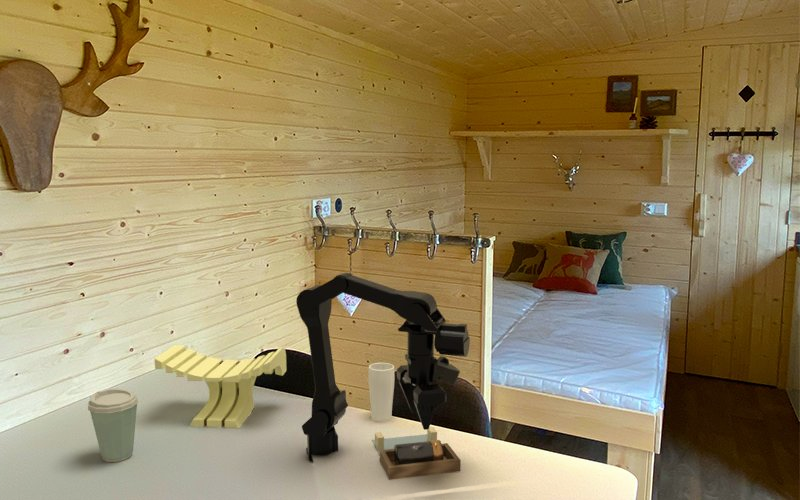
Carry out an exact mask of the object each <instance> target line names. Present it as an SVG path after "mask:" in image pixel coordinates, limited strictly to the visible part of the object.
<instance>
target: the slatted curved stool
mask: <svg viewBox="0 0 800 500" xmlns="http://www.w3.org/2000/svg"><path fill="white" fill-rule="evenodd" d="M163 369H165V373H166V374H174V373H176V377H177V378H184V377H186V379H187V381H188V382H203V381H204V382H205V384H206V386H207V388H208V391H209V394H208V395H209V396H208V400H207V401H206V403H205V405H204V407H202V409H201V410H200V412H198V413H197V415H196V416H194V418H193V419H192V421H191V423H190V425H189V427H194V426H197V428H200V427H201V428H203V426H204V427H205V426H206V428H220V427H221V428H222V427H224V428H225V429H226V428H227V429H240V428H241V426H242V425H243V424H244V423H245V422H246V420H247V419H248V418H249V417H248V415H249V414H250V412H251V411H252V410H253V408H254V409H255V403H254V395H253V394H254V386H255V382H256V379H257V378H258V377H260V376H262V374H263V373H264V375H272V374H273V373H274V372H275V373H274V374H275V375H278V376H281V377H283V376H284V375H285V373H286V372H287V352H286V348H284V347H281V348H278V349H277V350H276V351H271V352H269V353H267V354H266V355H265V354H263V355H260V356H258V357H257V358H255V357H254V358H246V359H241V361H240V359H225V360H224V359H222V358H217V357H213V356H212V357H211V356H207V355H206V354H204V353H200V352H198V353H197V351H196V350H193V349H190V348H187V347H186V346H185V345H182V344H181V345H180V344H174V345H172V346H171V347H170V348H168V349H167V350H165V351H164V352H162V353H161V354H159V355H157V356H156V357H154V370H163ZM253 411H254V410H253ZM250 415H251V414H250ZM250 415H249V416H250ZM247 417H248V418H247ZM246 418H247V419H246ZM245 419H246V420H245ZM243 422H244V423H243ZM242 423H243V424H242Z"/></svg>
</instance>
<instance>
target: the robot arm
mask: <svg viewBox="0 0 800 500" xmlns="http://www.w3.org/2000/svg"><path fill="white" fill-rule="evenodd" d="M341 294H346V295H349V296H351V297H355V298H357V299H360V300H363V301H366V302H369V303H372V304H374V305H377V306H380V307H383V308H387V309H390V310H391V311H393V312H395V314H397V315H398V316H399V317H400V318H403V320H405V321H404V322H403V323H402V325H401V326H400V327H398V328H397V331H398V332H400V333H407V353H405V354H404V359H405V361H406V362H407V364H405V365H404V364H403V365H399V367H397V369H396V378H397V379H398V383H399V385H400V388H401V390H402V392H403V395H404V397H405V400H406V403H407V404H408V408H409V409H410V411H411V414H413V415H415V414H418V417H419V420H420V423H421V425H422V426H421V427H422V429H423V430H426V431H427V429H429V427H431V423H432V419H433V418H434V417H433V416H434V413H435V411H436V409H437V408H438V407H439V406H443V404H446V402H447V398H448V397H447V395H448V393H447V392H446V390H444V389H443V387H441V386H440V384H438V383H439V381H443V382H447V383H449V384H450V385H453V386H454V385H456V383H457V382H458V381H457V380H458V378H459V375H460V373H461V370H460V369H458V367H456V366H454V365H453V364H451V363H450V361H449V359H448V358H447V356H454V357H463V358H466V357H468V354H469V351H470V344H471V342H470V341H471V338H470V335H469V330H468V324H467V323H459V324H458V323H447V320H446V319H445V317H444V315H443V314H442V313H441V312H440V310H439V308H438V304H437V301H436V299H435V297H434V296H433V295H432V294H430V293H427V292H422V291H415V290H414V291H413V290H400V289H395V288H393V287H390V286H387V285H384V284H380V283H377V282H374V281H372V280H368V279H365V278H362V277H359V276H355V275H354V274H351V273H349V272H343V273H340V274H337V275H335V276H334V277H333V278H332V279H331V280H329V281H327V282H325V283H323V284H321V285H320V284H317V285H314V286H310V287H309V288H306V289H304V290H302V291H301V292H299V294H298V295H297V297H296V301H295V302H296V307H297V310H298V314H299V316H300V317H299V318H300V319H301V320H302V322H303V324H304V326H305V327H306V329H307V333H308V334H307V336H308V343H309V349H310V350H309V351H310V352H309V353H310V357H311V358H310V359H311V366H312V367H311V368H312V373H313V374H312V375H313V380H314V388H315V389H314V393H313V398H312V402H311V417H310V418H308V420H306V421H305V422H304V423H303V424H302V425H301V429H302V432H303V435H304V436H306V443H307V444H306V448H305V450H306V455H307V458H308V461H309V462H314V459H313V456H317V457H322V456H323V457H324V456H328V455H330V454H332V453H337V452H339V436H338V435H339V434H338V432H337V430H336V427H335V426H336V425H338V423H339V421H340V420H341V419H342V418H343V417H344V416H345V414H346V411H347V408H348V407H349V404H348V402H347V392H346V390H345V389H343V390H340V388H339V387H338V386H337V383H336V376H335V368H334V361H333V354H332V352H333V351H332V344H331V339H330V329H329V322H330V321H329V320H330V318H331V314H332V304H333V303H332V302H333V301H332V300H334V299H335V298H337V297H338V296H341ZM435 352H437V353H438V354H439V356H438V358H436V357H435V355H434V353H435ZM431 383H433V384H431Z"/></svg>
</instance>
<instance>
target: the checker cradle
mask: <svg viewBox="0 0 800 500" xmlns="http://www.w3.org/2000/svg"><path fill="white" fill-rule="evenodd" d="M426 431H427V432H426V433H427V434H416V435H407V436H397V437H388V438H387V437H386V438H385V437H384V435H383V433H382V431H381V432H374V439H371V442H372V444H373V446H374V448H375V450H376V452H377V454H378V456H379V457H380V450H388V449H394V446H395V445H397V444H407V443H416V442H425V441H432V440H438V431H437V429H435V427H433V426H430V427H429V429H427V430H426Z"/></svg>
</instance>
